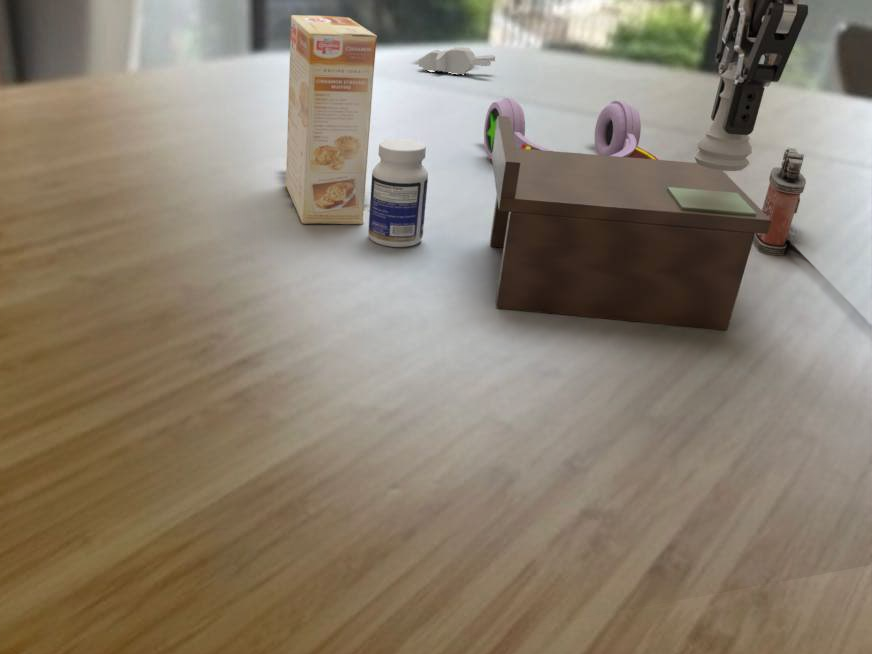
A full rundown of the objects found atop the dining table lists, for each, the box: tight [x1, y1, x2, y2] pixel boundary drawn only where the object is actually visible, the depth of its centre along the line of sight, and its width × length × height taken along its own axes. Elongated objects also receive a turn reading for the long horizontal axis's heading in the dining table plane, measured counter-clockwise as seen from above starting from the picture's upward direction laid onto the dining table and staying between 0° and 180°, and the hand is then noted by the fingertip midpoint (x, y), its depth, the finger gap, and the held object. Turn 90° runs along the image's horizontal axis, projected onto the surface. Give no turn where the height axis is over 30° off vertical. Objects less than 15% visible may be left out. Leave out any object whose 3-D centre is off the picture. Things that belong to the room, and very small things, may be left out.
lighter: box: [752, 147, 807, 256], centre depth 98 cm, size 8×3×10 cm, turn 161°
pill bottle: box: [367, 138, 429, 248], centre depth 93 cm, size 6×6×10 cm
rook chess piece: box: [693, 62, 753, 172], centre depth 74 cm, size 4×4×8 cm
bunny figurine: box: [418, 46, 496, 75], centre depth 187 cm, size 10×5×15 cm
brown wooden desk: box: [489, 116, 772, 331], centre depth 84 cm, size 22×18×13 cm
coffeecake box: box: [285, 14, 378, 225], centre depth 100 cm, size 15×7×20 cm, turn 9°
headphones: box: [483, 97, 659, 160], centre depth 120 cm, size 20×10×20 cm
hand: (730, 127), depth 74 cm, fingers closed on rook chess piece, 3 cm apart
